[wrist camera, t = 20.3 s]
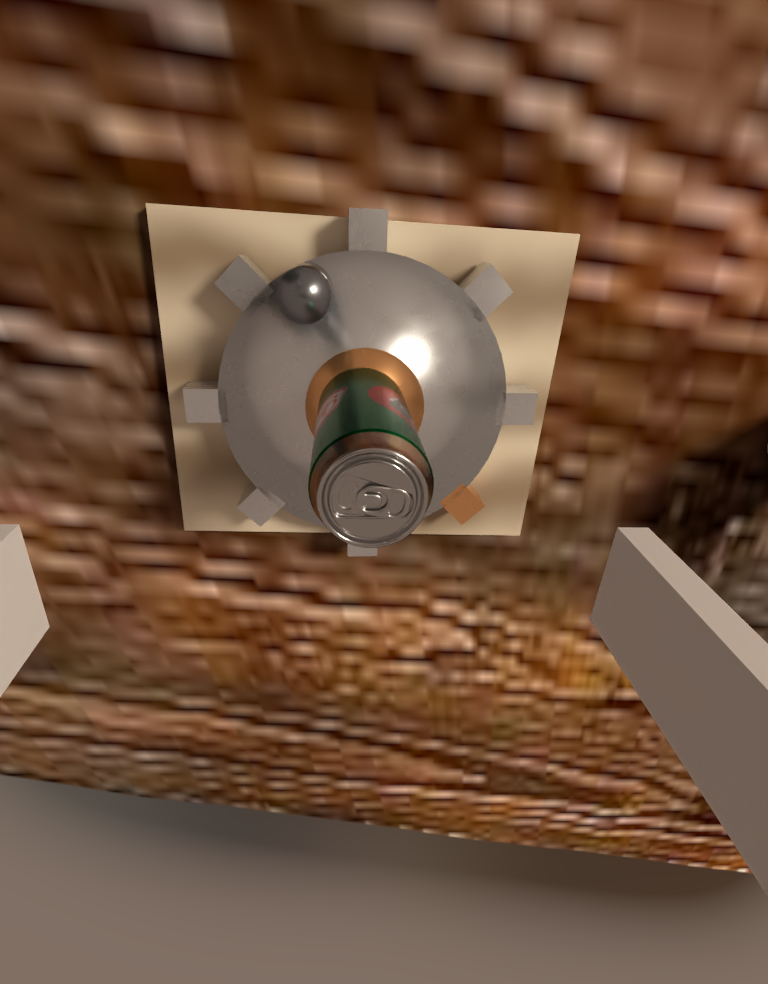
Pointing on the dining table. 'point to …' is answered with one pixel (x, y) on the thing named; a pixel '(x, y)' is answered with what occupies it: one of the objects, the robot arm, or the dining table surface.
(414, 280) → the sprocket
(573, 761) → the dining table surface
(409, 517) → the soda can
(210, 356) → the base board
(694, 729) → the robot arm
